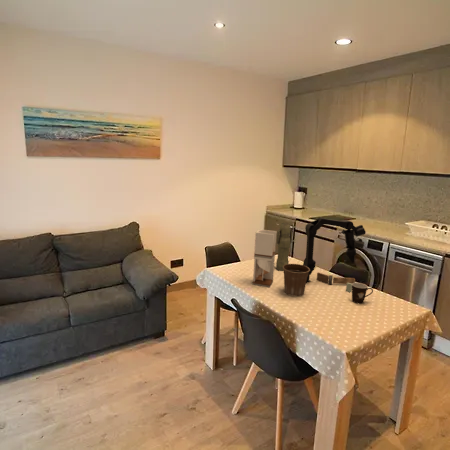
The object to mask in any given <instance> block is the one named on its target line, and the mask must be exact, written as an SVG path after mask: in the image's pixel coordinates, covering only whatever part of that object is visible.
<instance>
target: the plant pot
mask: <svg viewBox="0 0 450 450" xmlns="http://www.w3.org/2000/svg"><path fill="white" fill-rule="evenodd" d="M283 269H284V271H283V275H284V276H283V282H284V283H283V284H284V285H283V286H284V287H283V289H284V293H286V295H288V296H292V297H299V296H304V295H305V292H306V291H305V290H306V284H307V283H306V280H307V277H308V273H309V271H310V269H309V268H308V267H306V266H304V265H303V264H298V263H289V264H286V265H284V266H283Z"/></svg>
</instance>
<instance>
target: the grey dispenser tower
mask: <svg viewBox="0 0 450 450" xmlns="http://www.w3.org/2000/svg"><path fill="white" fill-rule="evenodd" d="M277 231H278V230H268V229H257V231H256V232H255V234H254V235H255V236H254V237H255V239H254V251H253V260H254V261H253V263H254V264H253V274H252V275H253V278H252V286H257V287H263V288H271V286H272V285H273V283H274V273H275V270H274V269H275V260H276V259H275V257H276V244H277Z"/></svg>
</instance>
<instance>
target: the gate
mask: <svg viewBox="0 0 450 450" xmlns="http://www.w3.org/2000/svg"><path fill="white" fill-rule="evenodd" d="M347 283H351V284H352V283H356V278H355V277H339V276H338V277H336V276H335V277H334V276H333V279H332V285H333V284H334V285H335V284H336V285H337V284H338V285H347Z"/></svg>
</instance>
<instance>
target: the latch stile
mask: <svg viewBox="0 0 450 450" xmlns="http://www.w3.org/2000/svg"><path fill="white" fill-rule="evenodd" d="M345 285H346V287H345V292H347V293H350V292H351V293H352V284H351V283H347V284H345Z"/></svg>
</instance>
